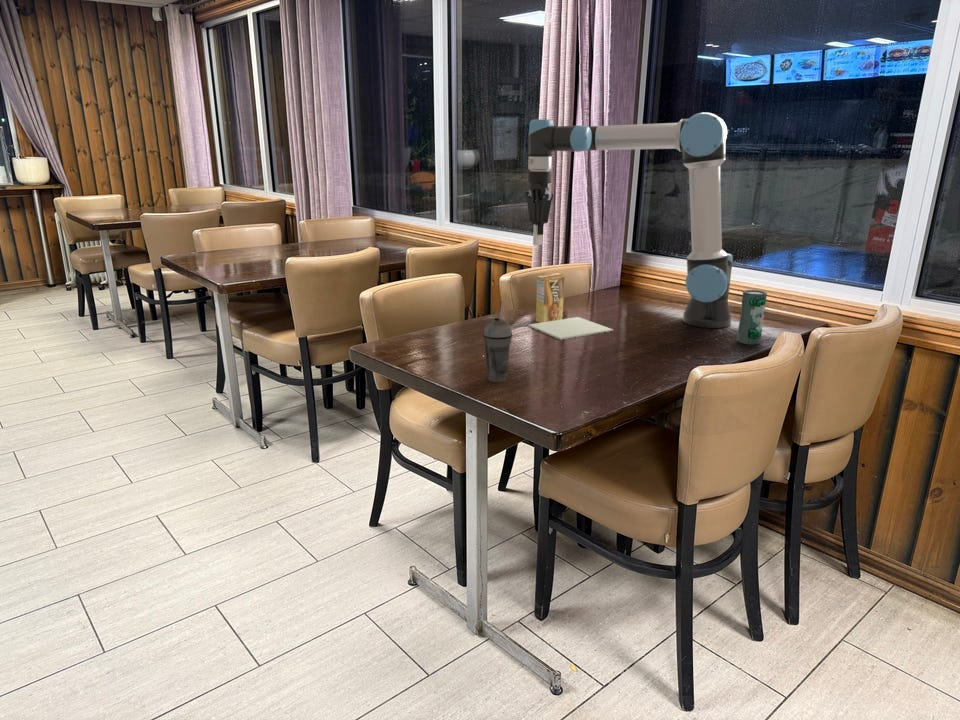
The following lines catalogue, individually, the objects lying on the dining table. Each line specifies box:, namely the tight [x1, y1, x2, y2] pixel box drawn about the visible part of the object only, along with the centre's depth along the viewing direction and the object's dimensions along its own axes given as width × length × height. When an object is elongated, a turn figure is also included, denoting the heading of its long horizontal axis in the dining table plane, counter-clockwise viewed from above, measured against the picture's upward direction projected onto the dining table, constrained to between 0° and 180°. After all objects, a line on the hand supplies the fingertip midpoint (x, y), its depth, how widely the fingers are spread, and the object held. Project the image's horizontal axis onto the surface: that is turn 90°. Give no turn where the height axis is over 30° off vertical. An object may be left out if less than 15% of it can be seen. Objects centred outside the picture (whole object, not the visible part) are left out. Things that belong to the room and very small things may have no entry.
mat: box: [527, 316, 614, 341], centre depth 211 cm, size 18×20×1 cm
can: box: [736, 289, 768, 345], centre depth 195 cm, size 6×6×15 cm
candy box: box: [535, 272, 565, 323], centre depth 219 cm, size 9×4×15 cm, turn 129°
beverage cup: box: [482, 300, 513, 383], centre depth 164 cm, size 7×7×20 cm
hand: (537, 244), depth 220 cm, fingers closed
